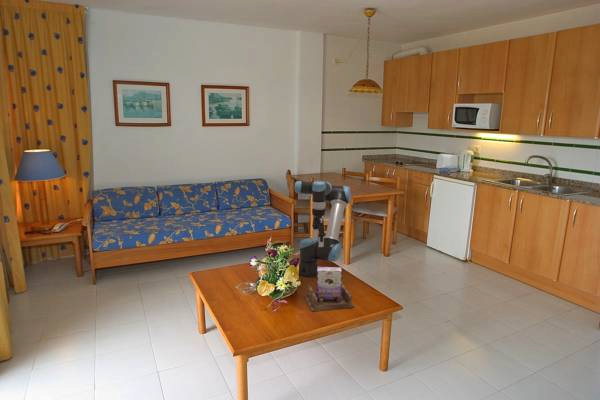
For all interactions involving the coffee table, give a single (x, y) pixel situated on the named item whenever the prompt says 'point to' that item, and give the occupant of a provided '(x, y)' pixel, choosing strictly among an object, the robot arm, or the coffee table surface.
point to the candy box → (329, 282)
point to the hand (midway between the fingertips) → (318, 243)
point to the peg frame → (328, 300)
